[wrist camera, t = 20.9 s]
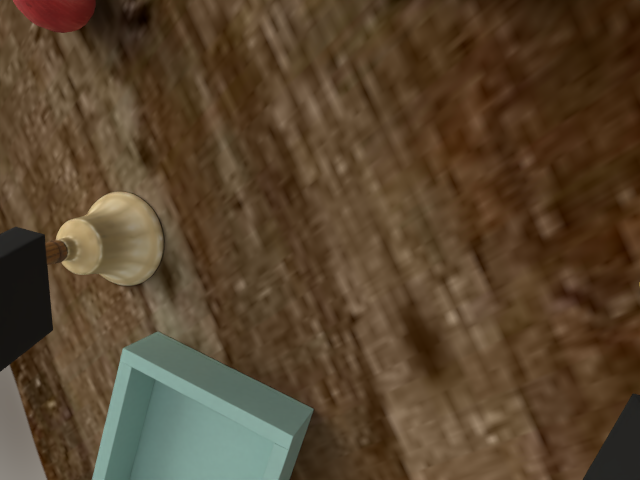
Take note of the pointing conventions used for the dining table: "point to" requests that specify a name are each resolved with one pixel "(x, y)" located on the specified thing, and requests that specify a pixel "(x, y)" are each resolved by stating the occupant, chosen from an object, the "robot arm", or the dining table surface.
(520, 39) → the dining table surface
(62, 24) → the onion
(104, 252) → the hand bell
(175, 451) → the open box
